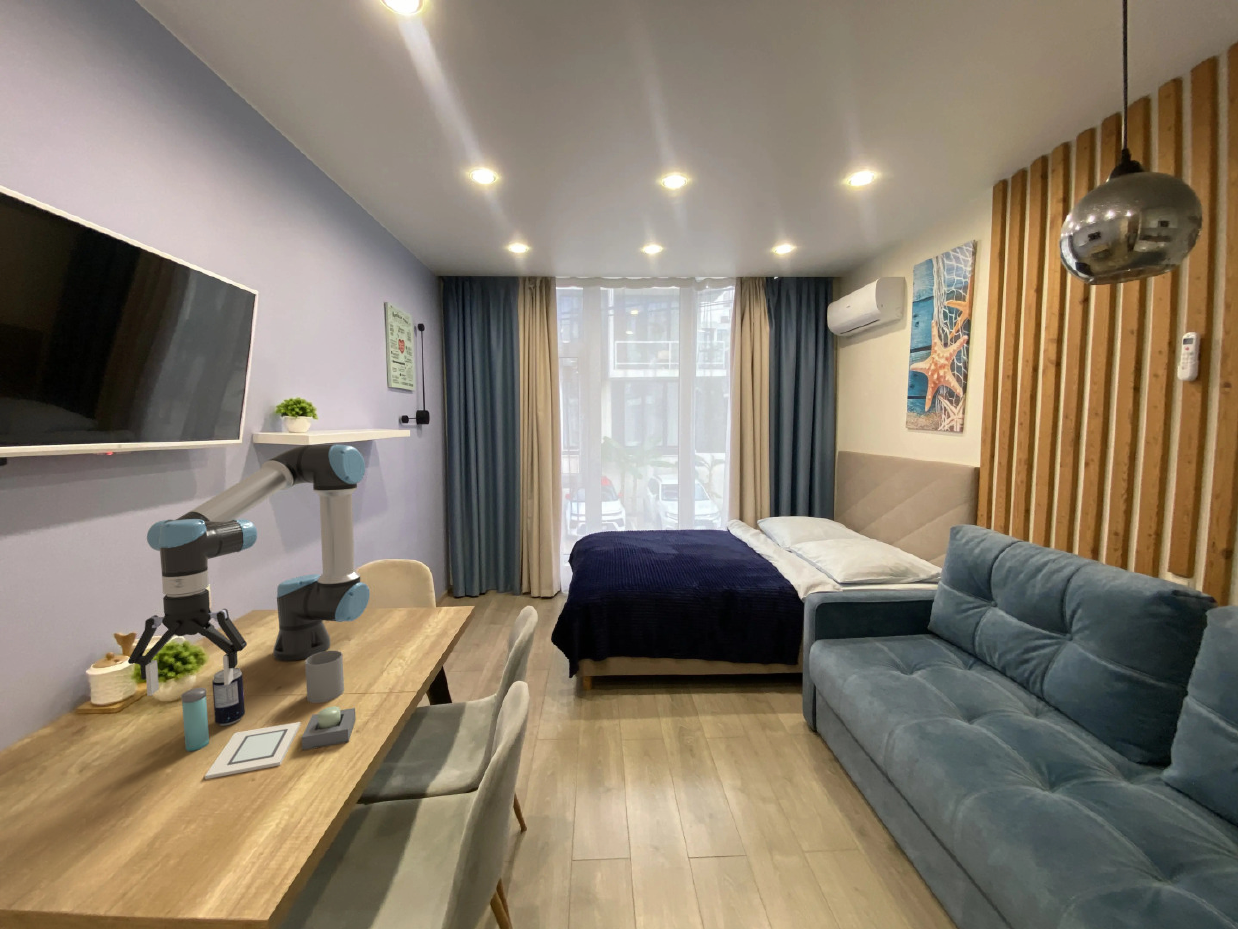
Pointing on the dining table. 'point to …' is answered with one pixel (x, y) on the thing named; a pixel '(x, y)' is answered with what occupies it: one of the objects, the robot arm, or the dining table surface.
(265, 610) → the dining table surface
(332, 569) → the robot arm
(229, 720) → the beverage can
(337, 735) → the button housing
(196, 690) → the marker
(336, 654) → the cup
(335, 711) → the button
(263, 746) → the picture board
